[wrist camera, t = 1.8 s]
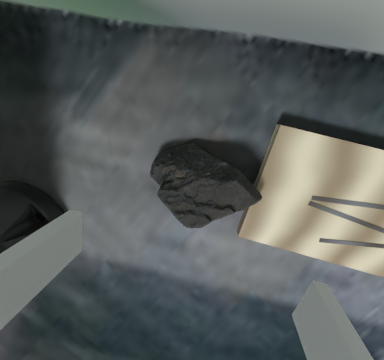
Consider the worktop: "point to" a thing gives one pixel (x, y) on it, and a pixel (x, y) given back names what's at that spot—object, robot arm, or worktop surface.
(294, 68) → the worktop surface
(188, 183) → the rock
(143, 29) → the worktop surface
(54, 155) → the worktop surface
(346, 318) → the robot arm
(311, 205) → the board
